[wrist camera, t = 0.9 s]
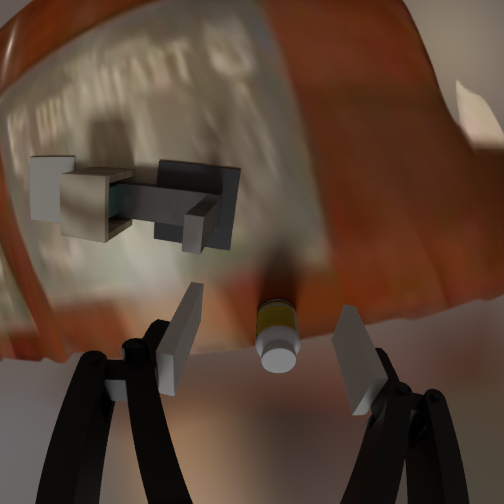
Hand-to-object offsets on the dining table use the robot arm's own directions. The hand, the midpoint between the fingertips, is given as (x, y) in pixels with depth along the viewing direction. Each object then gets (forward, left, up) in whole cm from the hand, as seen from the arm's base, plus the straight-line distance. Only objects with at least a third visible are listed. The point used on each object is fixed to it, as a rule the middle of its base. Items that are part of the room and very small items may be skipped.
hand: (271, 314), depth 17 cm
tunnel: (0, -25, -25) cm, 36 cm away
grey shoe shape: (0, -11, -25) cm, 28 cm away
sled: (0, -20, -25) cm, 32 cm away
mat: (0, -39, -25) cm, 46 cm away
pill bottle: (+16, +4, -26) cm, 30 cm away
